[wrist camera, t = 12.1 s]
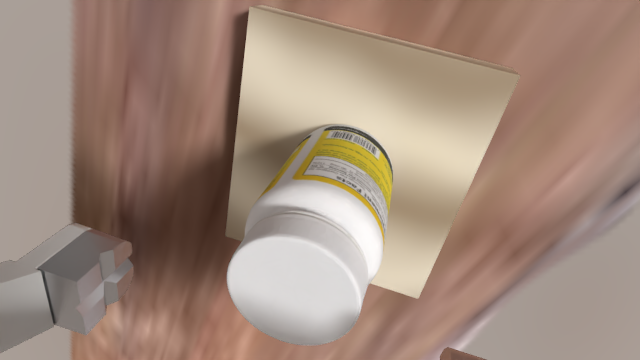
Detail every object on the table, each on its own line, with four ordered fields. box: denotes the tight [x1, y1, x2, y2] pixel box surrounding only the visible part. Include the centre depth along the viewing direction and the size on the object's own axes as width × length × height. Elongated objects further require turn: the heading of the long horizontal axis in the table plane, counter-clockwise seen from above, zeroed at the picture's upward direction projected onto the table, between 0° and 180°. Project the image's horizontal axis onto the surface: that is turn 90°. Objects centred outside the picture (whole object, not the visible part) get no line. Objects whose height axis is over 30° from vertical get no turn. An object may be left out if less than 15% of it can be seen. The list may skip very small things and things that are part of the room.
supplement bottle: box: [227, 124, 393, 345], centre depth 15 cm, size 5×5×8 cm
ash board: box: [225, 5, 520, 299], centre depth 19 cm, size 12×11×2 cm
